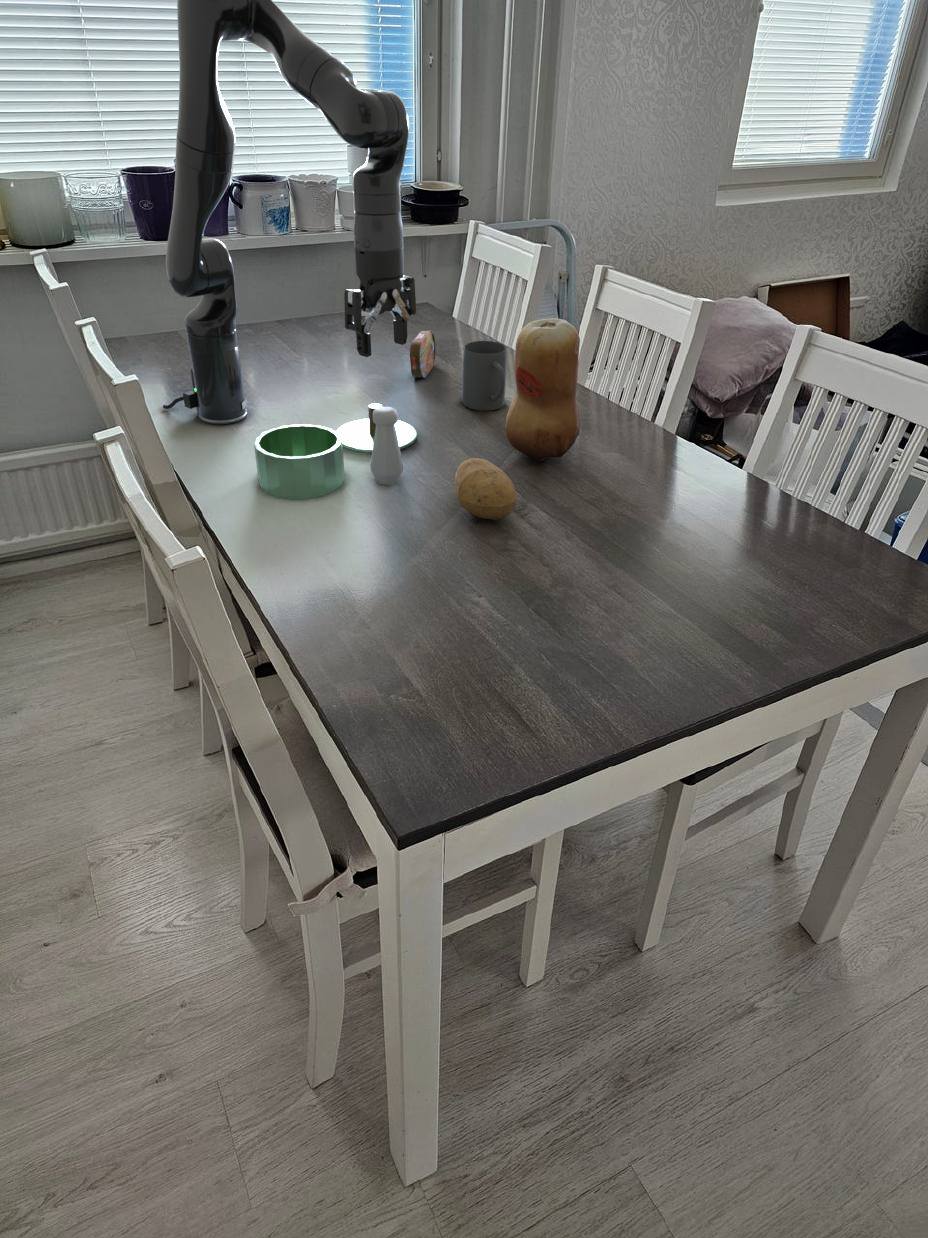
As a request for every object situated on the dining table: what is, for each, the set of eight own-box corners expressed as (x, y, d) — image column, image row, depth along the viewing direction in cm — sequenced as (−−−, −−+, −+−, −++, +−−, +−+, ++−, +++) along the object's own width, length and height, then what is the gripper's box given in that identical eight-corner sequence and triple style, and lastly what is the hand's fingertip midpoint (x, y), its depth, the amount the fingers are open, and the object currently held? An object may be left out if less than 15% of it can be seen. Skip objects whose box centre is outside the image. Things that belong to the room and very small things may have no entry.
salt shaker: (370, 472, 153) (367, 402, 146) (403, 472, 154) (401, 402, 146) (370, 487, 148) (367, 415, 141) (403, 486, 149) (402, 415, 141)
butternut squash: (489, 456, 160) (494, 320, 146) (534, 436, 168) (543, 305, 154) (547, 479, 152) (559, 337, 138) (591, 457, 161) (607, 322, 146)
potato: (473, 538, 134) (475, 492, 130) (442, 500, 145) (443, 456, 140) (529, 528, 137) (533, 483, 133) (495, 491, 148) (497, 448, 143)
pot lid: (322, 448, 162) (319, 414, 158) (356, 419, 174) (354, 387, 170) (398, 460, 158) (397, 426, 154) (428, 430, 170) (428, 397, 166)
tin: (421, 382, 192) (421, 345, 188) (408, 381, 193) (407, 344, 188) (436, 362, 205) (436, 326, 200) (423, 361, 205) (423, 325, 200)
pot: (243, 491, 146) (237, 450, 142) (285, 458, 158) (281, 419, 153) (321, 505, 142) (317, 464, 138) (357, 470, 154) (355, 431, 150)
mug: (455, 398, 185) (456, 342, 178) (493, 393, 188) (495, 338, 181) (481, 421, 174) (483, 362, 167) (521, 415, 177) (524, 357, 171)
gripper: (391, 233, 138) (394, 335, 147) (328, 247, 128) (335, 355, 137) (427, 239, 134) (428, 344, 143) (364, 254, 125) (369, 364, 134)
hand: (382, 349), depth 140 cm, fingers open, 8 cm apart
